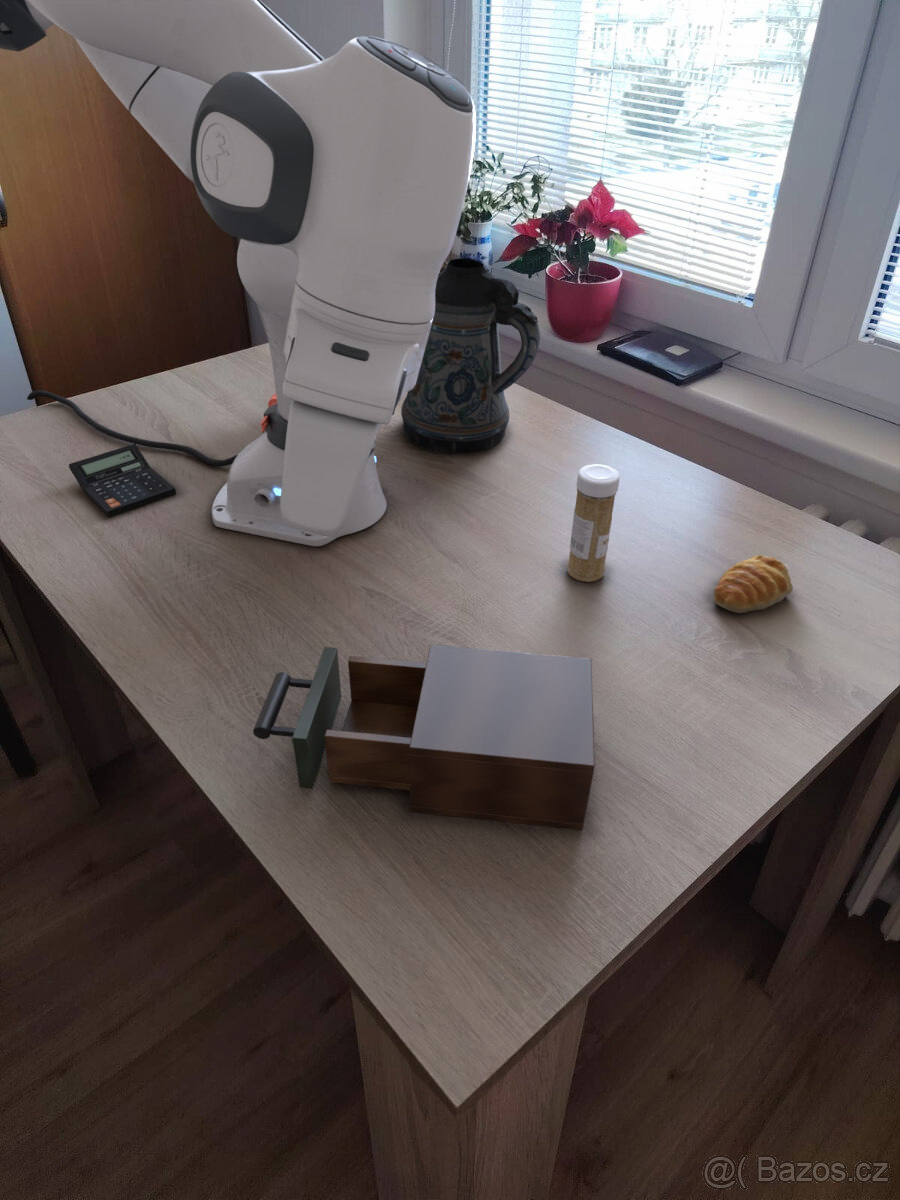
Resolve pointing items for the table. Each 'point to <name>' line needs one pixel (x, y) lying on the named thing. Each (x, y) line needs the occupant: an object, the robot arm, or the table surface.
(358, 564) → the table surface
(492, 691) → the cabinet
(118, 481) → the calculator
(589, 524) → the sprinkles bottle
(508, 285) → the beer stein
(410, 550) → the table surface
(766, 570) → the pastry
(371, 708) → the drawer
